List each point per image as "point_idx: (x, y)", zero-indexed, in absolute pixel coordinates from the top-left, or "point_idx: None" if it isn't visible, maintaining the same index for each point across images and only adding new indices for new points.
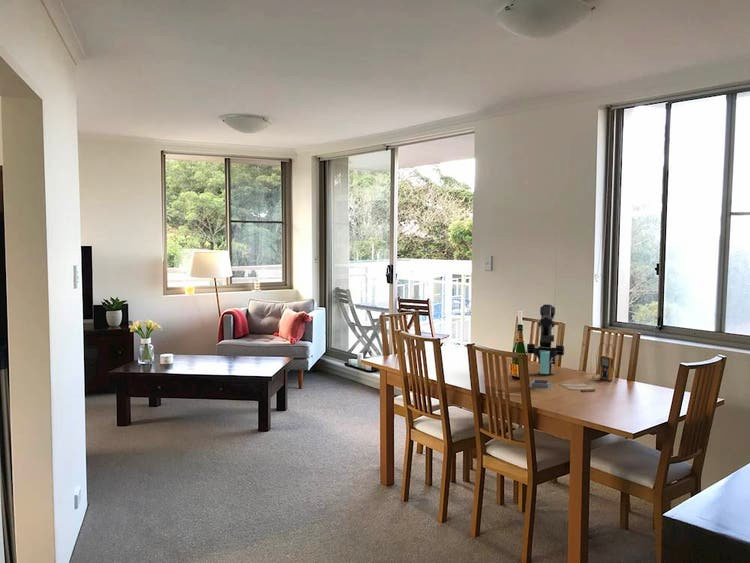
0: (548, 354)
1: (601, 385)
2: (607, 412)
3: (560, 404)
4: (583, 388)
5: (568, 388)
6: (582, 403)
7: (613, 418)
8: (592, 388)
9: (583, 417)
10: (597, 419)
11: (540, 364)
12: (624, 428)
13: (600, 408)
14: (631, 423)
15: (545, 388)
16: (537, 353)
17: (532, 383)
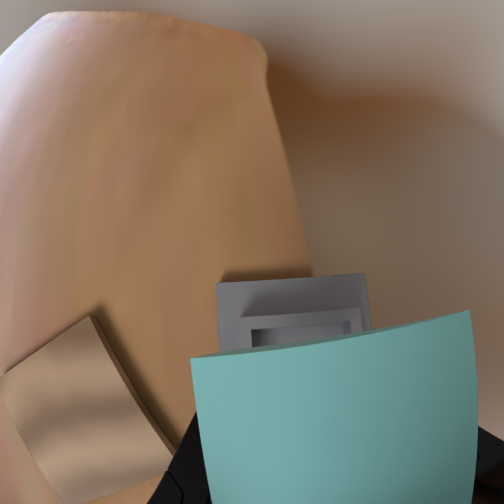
0: (226, 354)
1: (8, 499)
2: (30, 83)
3: (158, 77)
4: (35, 377)
5: (106, 349)
6: (71, 128)
7: (39, 52)
8: (4, 388)
9: (108, 20)
10: (79, 27)
11: (351, 333)
12: (48, 19)
13: (33, 106)
14: (19, 48)
15: (253, 297)
16: (492, 442)
17: (354, 308)
